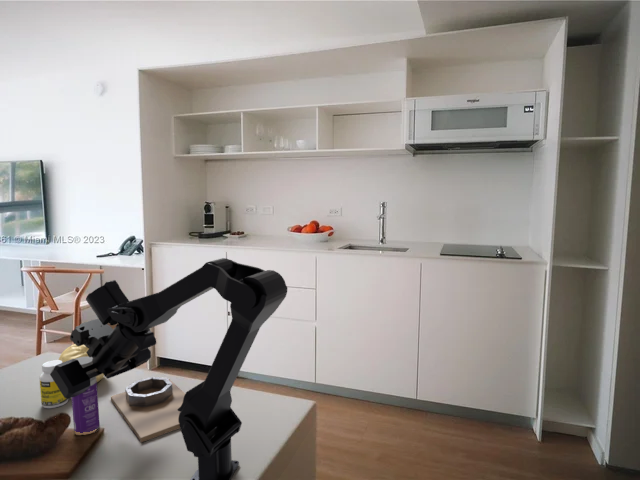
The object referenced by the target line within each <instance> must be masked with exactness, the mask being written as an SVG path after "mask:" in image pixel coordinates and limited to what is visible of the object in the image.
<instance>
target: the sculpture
mask: <svg viewBox="0 0 640 480" xmlns="http://www.w3.org/2000/svg"><path fill="white" fill-rule="evenodd" d="M88 350H89V348H87V347H86V346H85V345H81V346H77V345H76V344H74V343H73V344H72V345H70V346H68V347H67V348H66V349H64V350H63V351H62V352H61V354H60V356H59V357H58V360H61V361H62V363H63V362H66V361H68V360H71V359H76V358H79V357H86V356H88V354H87V353H86V352H87V351H88ZM104 377H105V376H104V374H101V375H99V376H97V377H96V381H97V383H99V382H100V381H101V380H102V379H103V378H104Z"/></svg>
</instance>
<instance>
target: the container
mask: <svg viewBox="0 0 640 480" xmlns="http://www.w3.org/2000/svg"><path fill="white" fill-rule="evenodd" d="M92 359H93V358H92V357H89V356H86V357H79V358H76V360H78V361H79V363H80V364H81V366H82V367H83V368H84V367H87V366H89V365H92V364H93V362H92ZM90 385H91V386H90V387H89V388H88V389H87V390H86V392H84V393H81V394H79V395H77V396H75V397H72V398H71V408H72V417H73V418H72V419H73V421H72V422H73V432H74V431H76V432H80V433H83V432H90V431H93V430H95V429H98V428H99V429H100V427H101V425H100V424H101V423H100V412H99V411H100V410H99V409H100V408H99V399H98V382H97V381H96V377H94V378H92V379H90ZM99 429H98V430H99Z"/></svg>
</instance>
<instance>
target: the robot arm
mask: <svg viewBox="0 0 640 480" xmlns="http://www.w3.org/2000/svg"><path fill="white" fill-rule="evenodd" d="M213 289H215V290H216V292H217V293H218V294H219V296H220V297H221V298H222V299H224V300H225V301H228V302H229V303H230V307H229V309H230V312H231V321H230V323H229V326H228V328H227V330H226V333H225V335H224V337H223V339H222V341H221V344H220V345H219V348H218V350H217V353H216V355H215V356H214V359H213V362H212V364H211V366H210V369H208V373H207V375H206V377H205V379H204V381H202V382H200V383H199V384H197V385H195V386H193V387H191V388H190V389H188V390H187V391H186V392H185V396H184V399H183V403H182V405H181V407H180V408H178V411H181V412H180V414H179V418H178V422H179V423H180V428H179V429H180V432H181V435H182V438H183V441H184V443H185V446H186V450H187V451H188V452H189V453H192V455H193V457H194V458H197V467H198V468H197V470H196V471H195V473H194V474H193V475H192V476H191V478H190V480H232V477H233V476H234V474H235V472H236V470H237V469H238V468H239V465H240V462H239V460H232V457H233V456H232V437H234V436H235V435H236V434H238V433H239V432H240V431H241V427H242V423H243V422H242V421H241V419H240V418H239V417H238V415H237V414H236V412H235V411H234V410H233V408H232V407H231V406H232V403H233V399H232V393H231V390H232V388H233V385H234V384H235V381H236V379H237V377H238V376H239V373H240V371H241V368H242V367H243V364H244V362H245V361H246V358H247V356H248V354H249V352H250V350H251V347H252V346H253V343H254V342H255V339H256V338H257V335H258V333H259V331H260V329H261V327H262V326H263V325H264V323H265V322H267V320H268V319H269V318H270V317H272V315H273V314H274V313H275V312H276V311H277V310H278V308H279V307H280V306H281V304H282V303H283V301H284V300H285V298H286V297H287V294H288V286H287V284H286V281H285V279H284V277H283V276H282V275H281V274H280V273H279V272H278V271H275V270H274V269H273V270H271V269H268V270H264V269H262V268H261V267H257V266H253V265H249V264H243V263H238V262H236V261H235V260H233V259H230V258H229V259H228V258H226V257H225V258H224V257H222V258H218V259H214V260H210V261H207V262H205V263H204V264H203V265H202V266H201V267H200V268H198V269H196V270H195V271H192V272H191V273H190V274H188V275H186V276H184V277H183V278H180V279H179V280H178V281H176V282H174V283H172V284H170V285H169V286H166V287H165V288H164V289H163V290H161V291H159V292H156V293H152V294H149V295H146V296H142V297H139V298H135V299H133V300H129V299H128V297H127V296H126V295H125V293H124V292H123V290H122V289H121V287H120V285H119V284H118V281H116V280H115V279H113V280H109V281H105V283H104V284H103V285H101V286H99V287H98V288H96V289H95V290H93V291H92V292H89V293H88V294H87V295H86V298H85V301H86V303H88V305H89V307H90V308H91V310H92V311H93V313H94V314H95V316H96V317H97V318H94V319H91V320H88V321H84V322H82V323H80V325H77V326H75V328H74V329H72V330H71V333H70V336H69V339H70V341H71V342H72V343H73V344H76V345H77V346H81V345H85V346H86V347H87V348H89V350H88V351H87V352H86V353H87V354H88V356H89V357H92V358H93V359H92V362H93V364H92V365H89V366H87V367H84V368H83V367H82V366H81V364H80V363H79V361H78V360H76V359H71V360H68V361H66V362H63V363H61V364H58V365H56V366H55V367H54V368H53V370H52V371H51V373H50V375H51V377H52V379H53V380H54V382H55V383H56V385H57V386H58V388H59V390H60V391H61V393H62V394H63V396H64V398H68V400H70V399H72V397H75V396H77V395H79V394H81V393H84V392H86V390H87V389H88V388H89V387H90V386H91V385H90V379H92V378H94V377H97V376H99V375H101V374H104V376H103V377H105V378H106V379H111V378H113V377H117V376H119V375H122V374H124V373H127V372H129V371H132V370H133V369H136V368H138V367H140V366H141V365H143V364H145V363H147V362H148V361H150V359H151V358H152V353H151V352H152V350H150V347H151V348H152V347H154V346H156V345H157V338H156V337H155V333H154V331H151V328H154V327H157V326H159V325H162V324H165V323H166V322H168V321H169V320H171V319H172V318H173V317H174V316H175V315H176V314H177V313H178V311H179V309H180V308H181V307H182V306H184V305H187V304H188V303H189V302H191V301H193V300H194V299H195V300H196V299H197V298H198V297H200V296H202V295H203V294H205V293H208V292H209V291H211V290H213ZM115 325H116V326H115ZM112 326H115V327H114V328H113V327H112Z"/></svg>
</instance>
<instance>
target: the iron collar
mask: <svg viewBox="0 0 640 480" xmlns="http://www.w3.org/2000/svg"><path fill="white" fill-rule="evenodd" d="M169 379H170V378H169V377H159V376H158V377H157V376H150V377H146V378H142V379H138V380H135V381H133V382H132V383H131V384H129V385H128V386H126V387H125V391H124V392H126V400H127V402H128V404H129V406H136V407H149V406H153V405H156V404H160V403H163V402H165V401H166V400H167V399H168V398H169V397H170V396H171V395H172V394H173V389H172V383H171V382H170V381H169ZM152 388H154V389H162V390H161V391H158V392H154V393H150V394H146V395H145V394H137V393H138V392H140V391H144V390H148V389H152Z"/></svg>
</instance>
